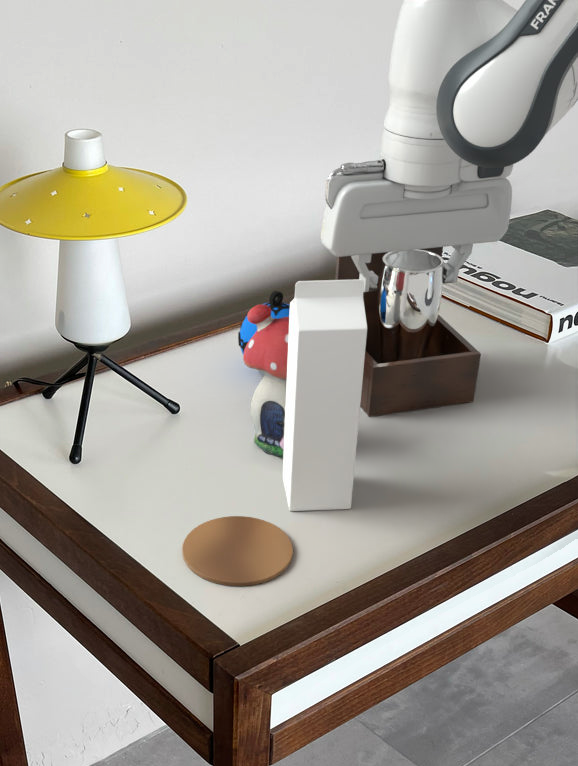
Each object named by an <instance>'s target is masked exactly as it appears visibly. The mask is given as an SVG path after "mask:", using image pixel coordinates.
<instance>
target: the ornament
mask: <svg viewBox="0 0 578 766" xmlns="http://www.w3.org/2000/svg"><path fill="white" fill-rule="evenodd" d="M268 300H269V302H266V303H265V302H264V304H265V305H268V306H269V307H270V308H271V317H272V318H276V319H278V318H284V317H289V314H290V303H289V304H288V303H285V302H283V300H284V294H283V292H281V291H279V290H274V291H273V292H272V293H270V295H269V299H268ZM256 331H257V325H256V324H253V323H251V322H249V321H248V319H247V315H246V316H245V317H244V320H243V321H242V323H241V324H240V328H239V331H238V334H237V339H238V340H237V343H238V347H240V350H241V353H242V355H243V354H244V350H245V347H246V345H247V343H248V342H249V340H250V339H251V338H252V337H253V335H254V334H255V333H256Z"/></svg>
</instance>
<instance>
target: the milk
mask: <svg viewBox="0 0 578 766" xmlns="http://www.w3.org/2000/svg"><path fill="white" fill-rule="evenodd" d="M363 291H364V282H363V281H362V280H361V279H358V280H335V279H328V280H322V279H321V280H298V281H297V282H296V283H295V285H294V298H293V299H292V300H291V301H290V302H289V305H290V314H289V337H288V361H287V384H286V407H285V430H284V454H283V458H282V481H283V487H284V492H285V496H286V500H287V506H288V510H289V512H305V511H330V510H334V511H335V510H351V508H352V501H353V499H352V498H353V489H354V478H355V468H356V466H355V465H356V456H357V455H356V454H357V444H358V435H359V434H358V433H359V423H360V414H361V413H360V412H361V406H360V402H361V391H362V380H363V370H364V359H365V348H366V337H367V322H366V315H365V307H364V300H363Z"/></svg>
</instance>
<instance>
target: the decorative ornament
mask: <svg viewBox="0 0 578 766" xmlns="http://www.w3.org/2000/svg"><path fill="white" fill-rule="evenodd" d="M246 316H247V319H248V321H249V322H251V323H253V324H256V325H257V331H256V333H255V334H254V335H253V337H252V338H251V339H250V340H249V342H248V343H247V345H246V347H245V350H244V354H243V353H242V356H243V358H242V360H243V362H244V365H245V366H246V367H247V368H250V369H252V370H256V371H258V372H260V373H261V374H263V377H262V379H261V380H260V381H259V383H258V385H257V386H256V388H255V391H254V393H253V395H252V398H251V403H250V417H251V422H252V425H253V429H254V438H253V442H254V444H255V445H256V446H257V447H258V448H259V449H261V450H262V451H263V452H264V453H266V454H270V455H273V456H275V457H279V458H282V459H283V454H284V430H285V407H286V384H287V361H288V337H289V317H284V318H278V319H276V318H272V317H271V308H270V307H269V306H268V305H265V303H261V304H256V305H255V306H253V307H251V308H250V309H249V311H248V312H247V314H246Z"/></svg>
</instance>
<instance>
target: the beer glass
mask: <svg viewBox="0 0 578 766" xmlns="http://www.w3.org/2000/svg"><path fill="white" fill-rule="evenodd" d="M444 263H445V260H444V258H443V256H442V257H440V256H439V255H437V254H435V253H432V252H429V251H425V250H419V249H415V250H405V251H395V252H388V253H387V254H385V255H384V256H383V261H382V267H381V272H380V278H379V284H378V291H377V325H378V336H379V357H378V362H377V364H381V363H389V362H396V361H404V360H412V359H419V358H426V353H427V349H428V345H429V342H430V339H431V336H432V333H433V330H434V327H435V324H436V321H437V317H438V314H439V313H440V308H441V302H442V295H443V286H444V284H443V266H444Z"/></svg>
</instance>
